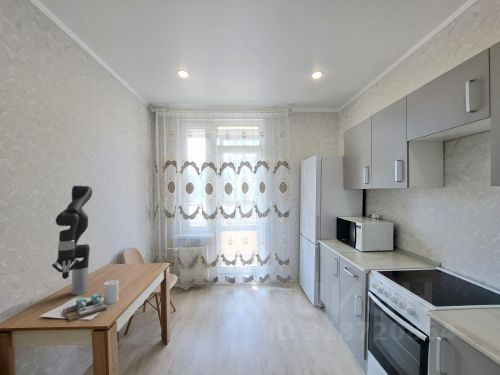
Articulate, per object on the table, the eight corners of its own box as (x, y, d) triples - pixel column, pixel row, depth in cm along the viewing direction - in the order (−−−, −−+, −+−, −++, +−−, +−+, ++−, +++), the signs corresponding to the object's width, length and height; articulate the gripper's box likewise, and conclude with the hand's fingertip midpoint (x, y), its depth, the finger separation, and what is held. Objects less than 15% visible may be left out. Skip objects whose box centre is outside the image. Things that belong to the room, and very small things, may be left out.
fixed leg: (91, 302, 145) (91, 294, 145) (98, 300, 148) (98, 292, 148) (96, 308, 139) (96, 299, 139) (103, 305, 142) (104, 297, 142)
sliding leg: (76, 307, 139) (76, 298, 140) (83, 304, 142) (84, 296, 143) (80, 313, 133) (80, 304, 133) (88, 310, 136) (89, 301, 136)
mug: (109, 296, 158) (109, 278, 159) (122, 295, 159) (123, 278, 160) (100, 304, 147) (101, 285, 147) (115, 303, 148) (116, 284, 148)
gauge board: (62, 311, 137) (63, 306, 137) (98, 301, 150) (98, 296, 151) (69, 321, 126) (69, 315, 126) (106, 309, 140) (106, 304, 140)
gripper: (78, 245, 142) (77, 274, 141) (50, 248, 132) (49, 279, 132) (82, 247, 137) (80, 277, 136) (52, 251, 127) (51, 283, 127)
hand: (65, 278), depth 134 cm, fingers closed
